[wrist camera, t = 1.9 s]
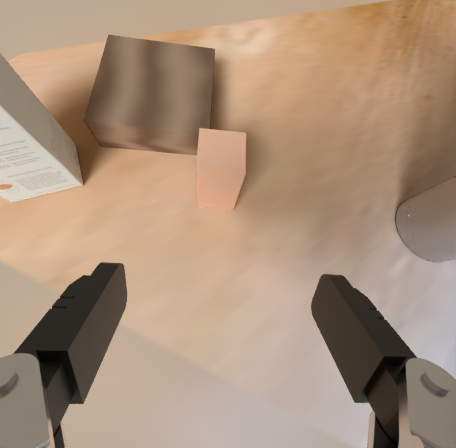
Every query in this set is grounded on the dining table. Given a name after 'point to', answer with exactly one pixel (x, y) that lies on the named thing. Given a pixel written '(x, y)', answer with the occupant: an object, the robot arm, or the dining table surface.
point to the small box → (32, 144)
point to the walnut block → (151, 95)
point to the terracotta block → (220, 168)
